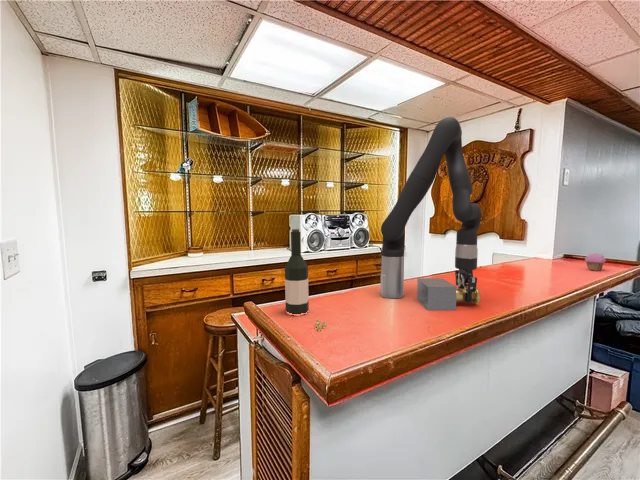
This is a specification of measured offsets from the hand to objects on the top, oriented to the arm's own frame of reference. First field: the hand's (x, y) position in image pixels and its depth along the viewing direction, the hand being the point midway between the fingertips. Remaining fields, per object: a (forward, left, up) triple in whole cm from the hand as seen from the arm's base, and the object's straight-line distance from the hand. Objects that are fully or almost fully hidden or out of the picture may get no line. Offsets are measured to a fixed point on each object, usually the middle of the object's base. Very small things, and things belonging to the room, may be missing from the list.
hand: (464, 300), depth 113 cm
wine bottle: (-63, -10, -2) cm, 64 cm away
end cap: (-2, 0, -1) cm, 3 cm away
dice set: (-54, -24, -3) cm, 60 cm away
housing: (-11, 0, -2) cm, 11 cm away
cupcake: (+102, +66, -2) cm, 122 cm away
